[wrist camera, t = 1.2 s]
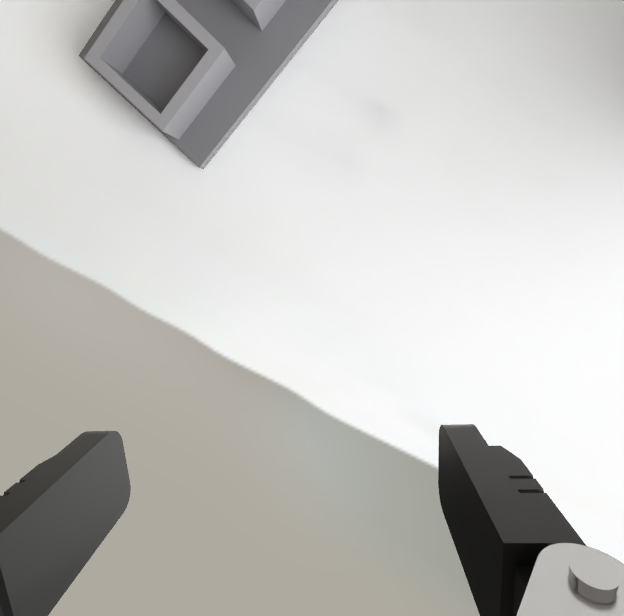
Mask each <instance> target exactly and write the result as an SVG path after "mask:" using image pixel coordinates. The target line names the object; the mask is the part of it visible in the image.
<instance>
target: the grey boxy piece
mask: <svg viewBox="0 0 624 616" xmlns="http://www.w3.org/2000/svg"><path fill="white" fill-rule="evenodd" d="M337 1H338V0H116V1H115V2H114V4H113V5H112V7H111V8H110V10H109V11H108V13H107V14H106V16H105V17H104V19H103V20H102V22H101V23H100V25H99V26H98V28H97V29H96V31H95V32H94V34H93V35H92V37H91V38H90V40H89V41H88V43H87V44H86V46H85V47H84V49H83V50H82V52H81V53H80V55H79V56H80V57H81V58H82V59H83V60H84V61H85V62H86V63H87V64H88V65H89V66H91V67H92V68H93V69H94V70H95V71H96V72H97V73H98V74H99V75H100V76H101V77H102V78H103V79H105V80H106V81H107V82H108V83H109V84H110V85H111V86H112V87H113V88H114V89H115V90H116V91H117V92H119V93H120V94H121V95H122V96H123V97H124V98H125V99H126V100H127V101H128V102H129V103H130V104H131V105H133V106H134V107H135V108H136V109H137V110H138V111H139V112H140V113H141V114H142V115H143V116H144V117H145V118H147V119H148V120H149V121H150V122H151V123H152V124H153V125H154V126H155V127H156V128H157V129H158V130H160V131H161V132H162V133H163V134H164V135H165V136H166V137H167V138H168V139H169V140H170V141H171V142H172V143H174V144H175V145H176V146H177V147H178V148H179V149H180V150H181V151H182V152H183V153H184V154H185V155H186V156H188V157H189V158H190V159H191V160H192V161H193V162H194V163H195V164H196V165H197V166H198V167H200V168H202V169H204V168H205V166H206V165H207V164H208V163H209V161H210V160H211V159H212V158H213V156H214V155H215V154H216V153H217V151H218V150H219V149H220V148H221V146H222V145H223V144H224V143H225V141H226V140H227V139H228V138H229V136H230V135H231V134H232V133H233V131H234V130H235V129H236V128H237V126H238V125H239V124H240V123H241V121H242V120H243V119H244V118H245V116H246V115H247V114H248V113H249V111H250V110H251V109H252V108H253V106H254V105H255V104H256V103H257V101H258V100H259V99H260V97H261V96H262V95H263V94H264V92H265V91H266V90H267V89H268V87H269V86H270V85H271V84H272V82H273V81H274V80H275V79H276V77H277V76H278V75H279V74H280V72H281V71H282V70H283V69H284V67H285V66H286V65H287V64H288V62H289V61H290V60H291V59H292V57H293V56H294V55H295V54H296V52H297V51H298V50H299V49H300V47H301V46H302V45H303V44H304V42H305V41H306V40H307V39H308V37H309V36H310V35H311V34H312V32H313V31H314V30H315V29H316V27H317V26H318V25H319V24H320V22H321V21H322V20H323V19H324V17H325V16H326V15H327V14H328V12H329V11H330V10H331V9H332V7H333V6H334V5H335V4H336V2H337Z"/></svg>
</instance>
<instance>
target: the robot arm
mask: <svg viewBox="0 0 624 616" xmlns="http://www.w3.org/2000/svg"><path fill="white" fill-rule="evenodd" d="M438 478H439V480H438V484H439V495H440V502H441V506H442V510H443V513H444V516H445V519H446V522H447V525H448V527H449V530H450V533H451V536H452V539H453V541H454V544H455V547H456V550H457V553H458V555H459V558H460V561H461V564H462V566H463V569H464V572H465V575H466V578H467V580H468V583H469V586H470V589H471V592H472V594H473V597H474V600H475V603H476V605H477V608H478V611H479V614H480V616H624V564H623V563H621V562H620V561H618V560H617V559H615V558H613V557H612V556H610V555H608V554H606V553H604V552H601V551H599V550H597V549H594V548H591V547H588V546H586V545H585V544H584V542H583V541H582V540H581V538H580V537H579V536H578V534H577V533H576V532H575V530H574V529H573V528H572V526H571V525H570V524H569V522H568V521H567V520H566V519H565V517H564V516H563V515H562V513H561V512H560V511H559V509H558V508H557V507H556V505H555V504H554V503H553V501H552V500H551V499H550V498H549V496H548V495H547V494H546V493H544V491H543V488H542V487H541V486H540V484H539V483H538V482H537V480H536V479H533V475H532V474H531V473H530V471H529V470H528V469H527V467H526V466H525V465H524V463H523V462H522V461H521V459H519V458H518V457H516V456H515V455H513V454H512V453H510V452H509V451H508V450H506V449H505V448H503V447H502V446H488V444H487V443H486V441H485V440H484V438H483V437H482V435H481V434H480V432H479V431H478V429H477V428H476V427H475V425H473V424H469V425H441V426H440V429H439V477H438ZM129 497H130V481H129V475H128V469H127V464H126V458H125V453H124V447H123V441H122V438H121V436H120V434H119V433H118V432H116V431H91V432H84V433H82V434H81V435H80V436H78V437H77V438H76V439H75V440H74V441H72V442H71V443H70V444H69V445H67V446H66V447H65V448H64V449H63V450H62V451H60V452H59V453H58V454H57V455H55V456H54V457H52V458H50V459H48V460H46V461H44V462H43V463H41V464H39V465H37V466H36V467H35V468H34V469H32V470H31V471H30V472H29V473H27V474H26V475H25V476H24V477H23V478H21V479H20V482H19V483H15V484H14V485H13V486H11V487H10V488H9V489H8V490H7V491H6V492H4V495H3V496H0V616H48V615H49V613H50V612H51V611H52V609H53V608H54V606H55V605H56V604H57V602H58V601H59V600H60V598H61V597H62V595H63V594H64V593H65V592H66V590H67V589H68V587H69V586H70V585H71V583H72V582H73V581H74V579H75V578H76V577H77V575H78V574H79V573H80V571H81V570H82V568H83V567H84V566H85V564H86V563H87V561H88V560H89V559H90V558H91V556H92V555H93V553H94V552H95V550H96V549H97V548H98V547H99V545H100V544H101V543H102V541H103V540H104V538H105V537H106V536H107V534H108V533H109V532H110V530H111V529H112V528H113V526H114V525H115V524H116V522H117V521H118V519H119V518H120V517H121V515H122V514H123V513H124V511H125V509H126V507H127V504H128V501H129Z"/></svg>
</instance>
